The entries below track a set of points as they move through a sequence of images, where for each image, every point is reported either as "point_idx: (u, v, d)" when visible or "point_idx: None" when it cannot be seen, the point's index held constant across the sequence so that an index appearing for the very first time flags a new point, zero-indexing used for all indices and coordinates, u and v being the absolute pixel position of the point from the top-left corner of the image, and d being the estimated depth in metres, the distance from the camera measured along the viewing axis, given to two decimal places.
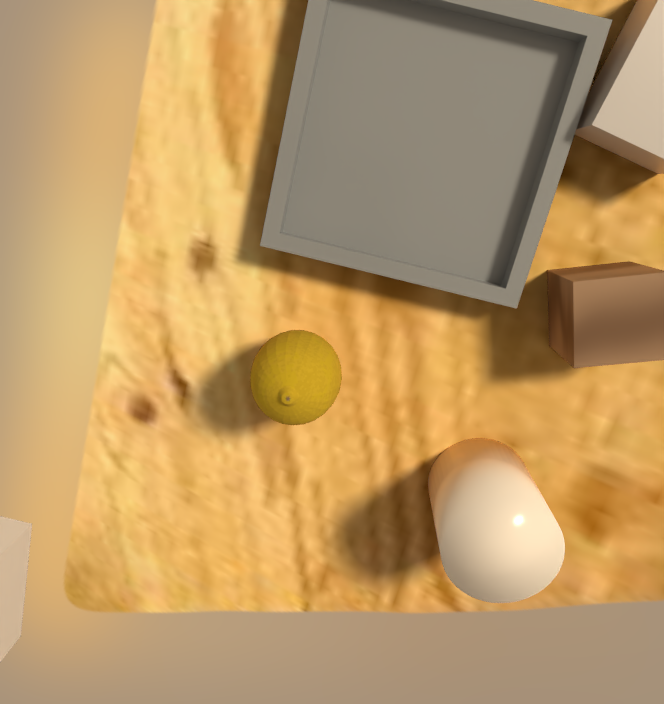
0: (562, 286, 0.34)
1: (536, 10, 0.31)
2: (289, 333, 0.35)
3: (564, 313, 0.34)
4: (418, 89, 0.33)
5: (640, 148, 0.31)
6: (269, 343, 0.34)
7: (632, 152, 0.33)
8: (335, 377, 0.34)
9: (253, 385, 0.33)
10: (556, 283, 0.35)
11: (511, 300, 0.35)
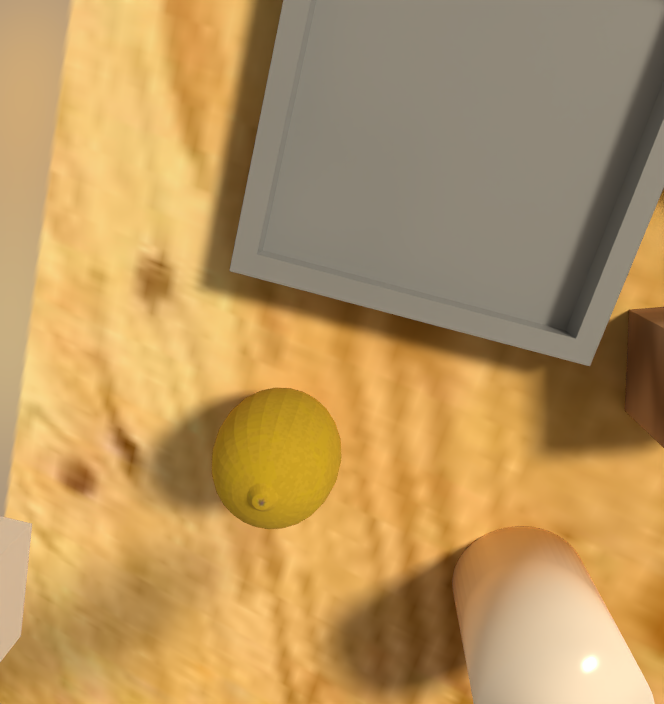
0: (658, 339, 0.24)
1: None
2: (268, 396, 0.24)
3: (659, 376, 0.24)
4: (460, 49, 0.23)
5: None
6: (239, 411, 0.24)
7: None
8: (331, 464, 0.24)
9: (214, 474, 0.23)
10: (646, 332, 0.25)
11: (582, 355, 0.25)
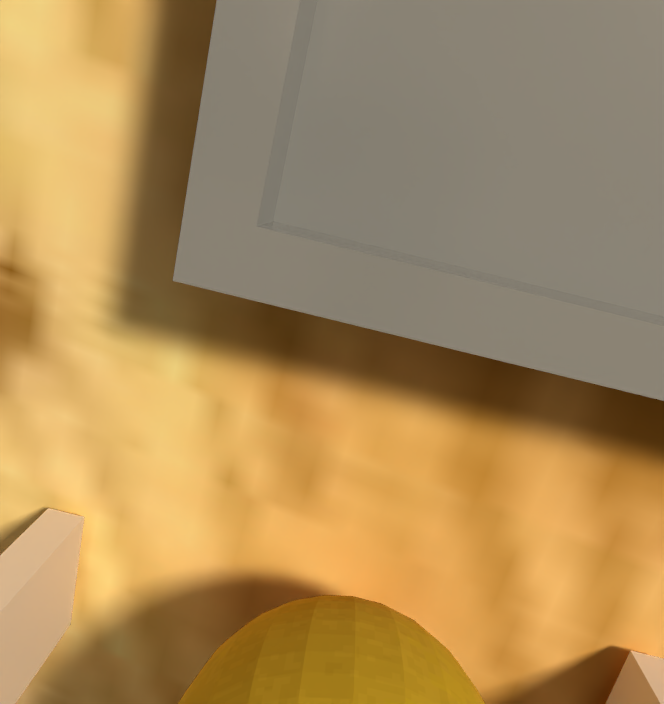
0: None
1: None
2: (301, 681, 0.08)
3: None
4: None
5: None
6: None
7: None
8: None
9: None
10: None
11: None
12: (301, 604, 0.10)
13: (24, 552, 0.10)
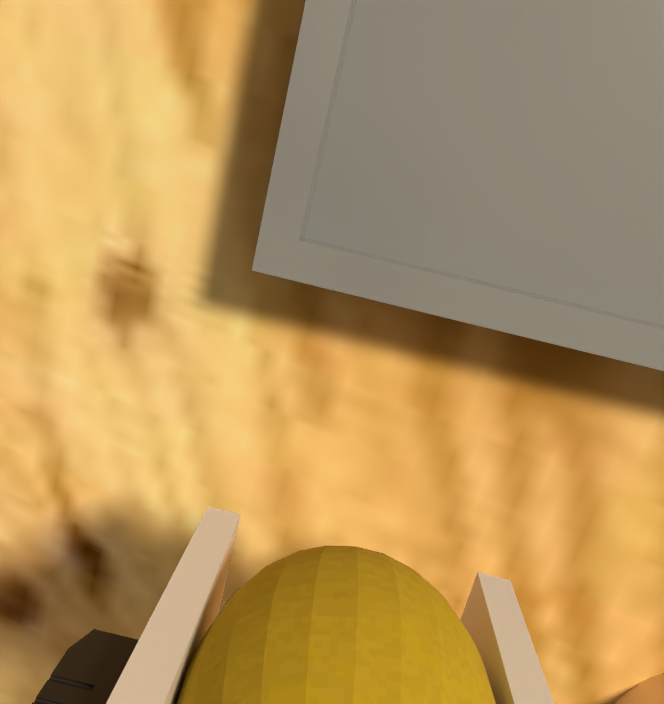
0: None
1: None
2: (313, 604, 0.09)
3: None
4: None
5: None
6: (235, 656, 0.09)
7: None
8: None
9: None
10: None
11: None
12: (309, 551, 0.11)
13: (205, 545, 0.12)
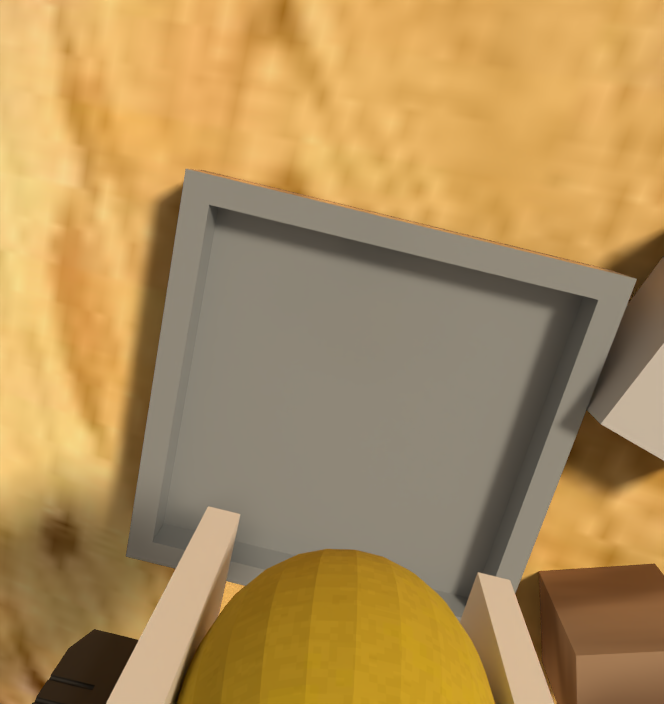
0: (559, 630, 0.23)
1: (520, 263, 0.20)
2: (312, 609, 0.09)
3: (562, 666, 0.23)
4: (348, 349, 0.23)
5: None
6: (233, 661, 0.09)
7: None
8: None
9: None
10: (551, 610, 0.24)
11: None
12: (309, 554, 0.11)
13: (205, 545, 0.12)
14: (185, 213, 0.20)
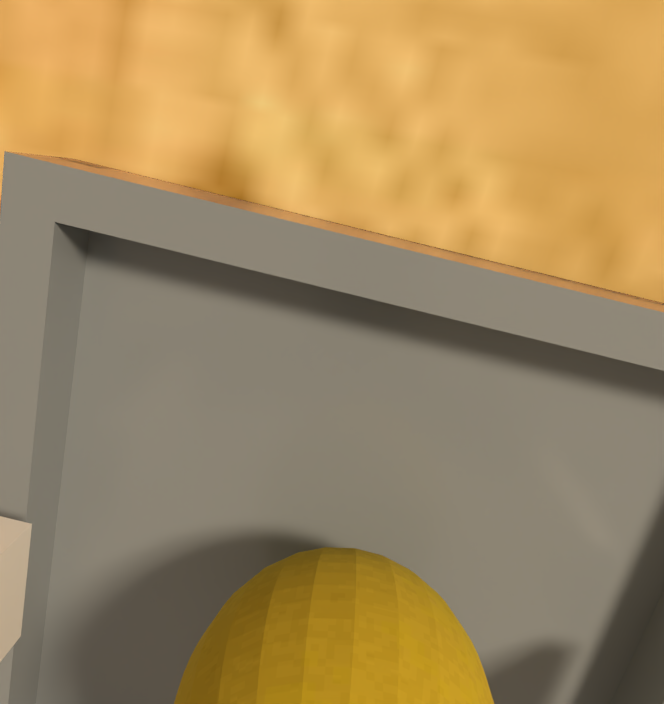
0: None
1: (662, 336, 0.10)
2: (310, 606, 0.09)
3: None
4: (331, 473, 0.13)
5: None
6: (231, 658, 0.09)
7: None
8: None
9: None
10: None
11: None
12: (308, 552, 0.11)
13: None
14: (10, 238, 0.11)
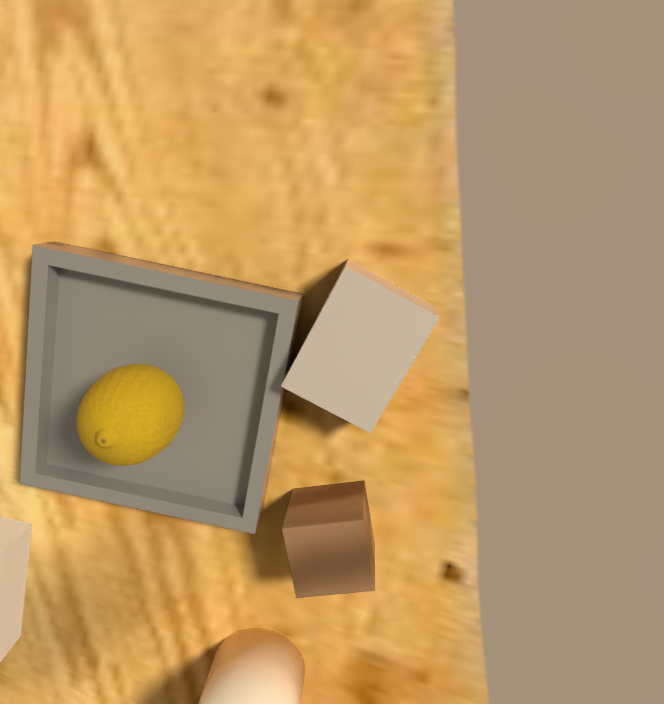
0: None
1: (230, 293, 0.34)
2: (120, 368, 0.33)
3: None
4: (148, 347, 0.37)
5: None
6: (97, 380, 0.32)
7: None
8: (164, 415, 0.32)
9: None
10: None
11: (249, 527, 0.38)
12: None
13: None
14: (35, 270, 0.34)
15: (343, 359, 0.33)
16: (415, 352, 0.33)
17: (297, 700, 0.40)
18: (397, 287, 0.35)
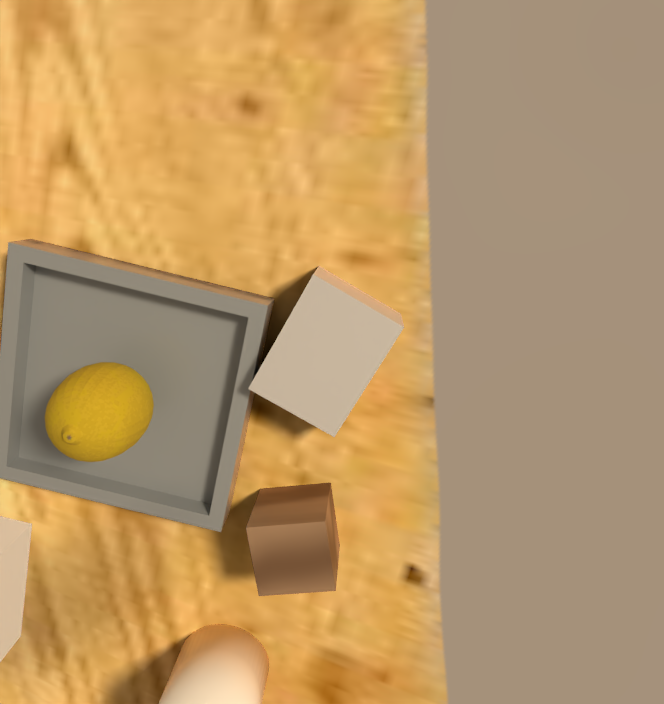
0: None
1: (201, 296, 0.35)
2: (90, 366, 0.33)
3: None
4: (120, 346, 0.37)
5: None
6: (67, 377, 0.33)
7: None
8: (131, 414, 0.33)
9: (45, 421, 0.32)
10: None
11: (215, 525, 0.39)
12: None
13: None
14: (10, 267, 0.35)
15: (309, 364, 0.34)
16: (379, 360, 0.34)
17: (258, 696, 0.41)
18: (366, 295, 0.36)
